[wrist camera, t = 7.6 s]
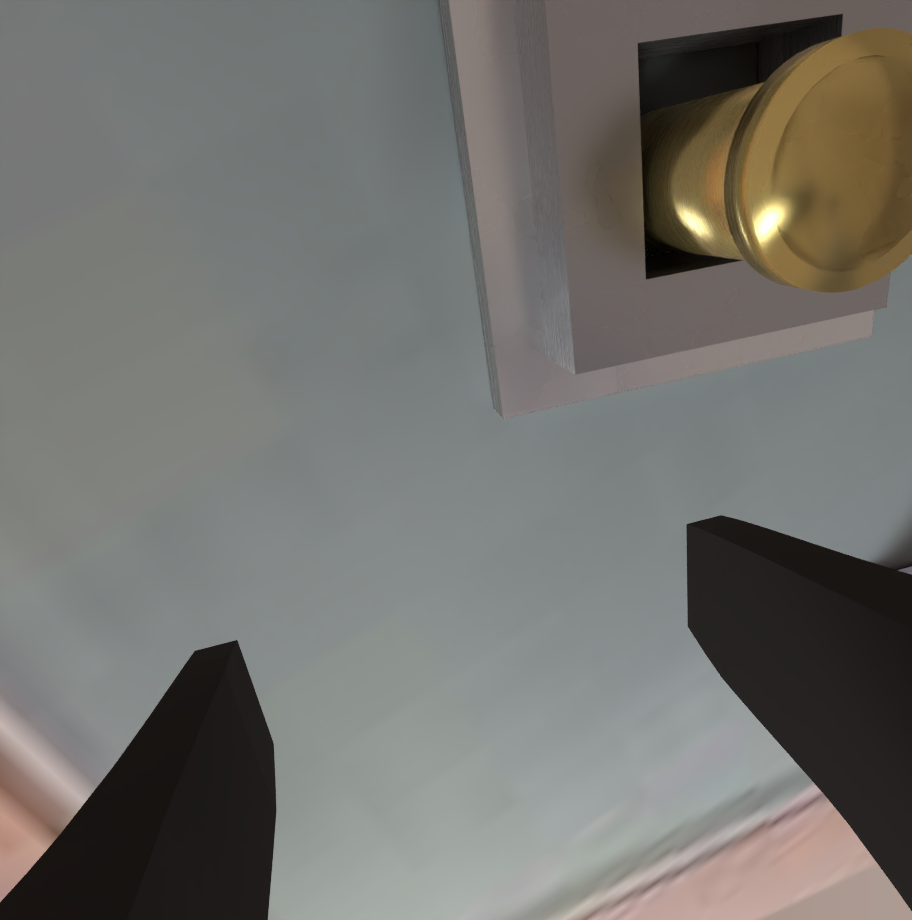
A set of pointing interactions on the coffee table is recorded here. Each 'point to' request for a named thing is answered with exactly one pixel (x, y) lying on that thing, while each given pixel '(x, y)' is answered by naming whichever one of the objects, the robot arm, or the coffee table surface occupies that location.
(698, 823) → the coffee table surface
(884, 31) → the pin
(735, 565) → the robot arm
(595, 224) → the white stepped square fixture
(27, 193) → the coffee table surface
